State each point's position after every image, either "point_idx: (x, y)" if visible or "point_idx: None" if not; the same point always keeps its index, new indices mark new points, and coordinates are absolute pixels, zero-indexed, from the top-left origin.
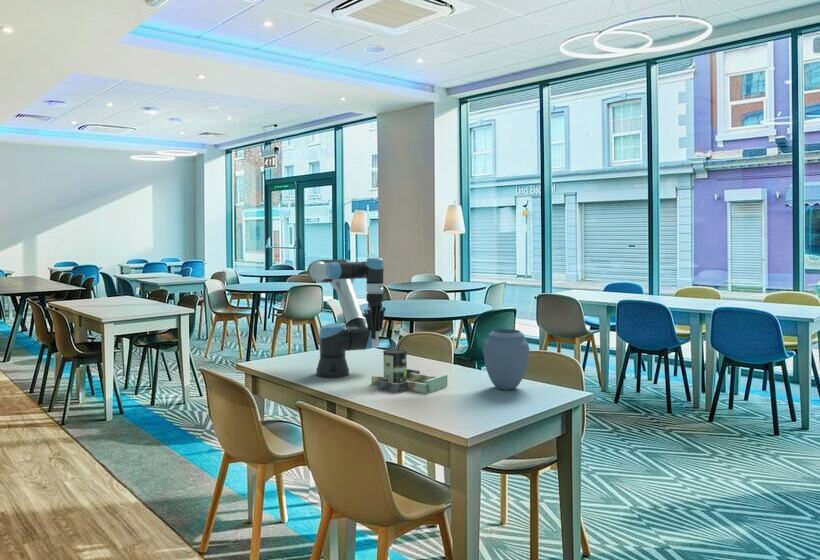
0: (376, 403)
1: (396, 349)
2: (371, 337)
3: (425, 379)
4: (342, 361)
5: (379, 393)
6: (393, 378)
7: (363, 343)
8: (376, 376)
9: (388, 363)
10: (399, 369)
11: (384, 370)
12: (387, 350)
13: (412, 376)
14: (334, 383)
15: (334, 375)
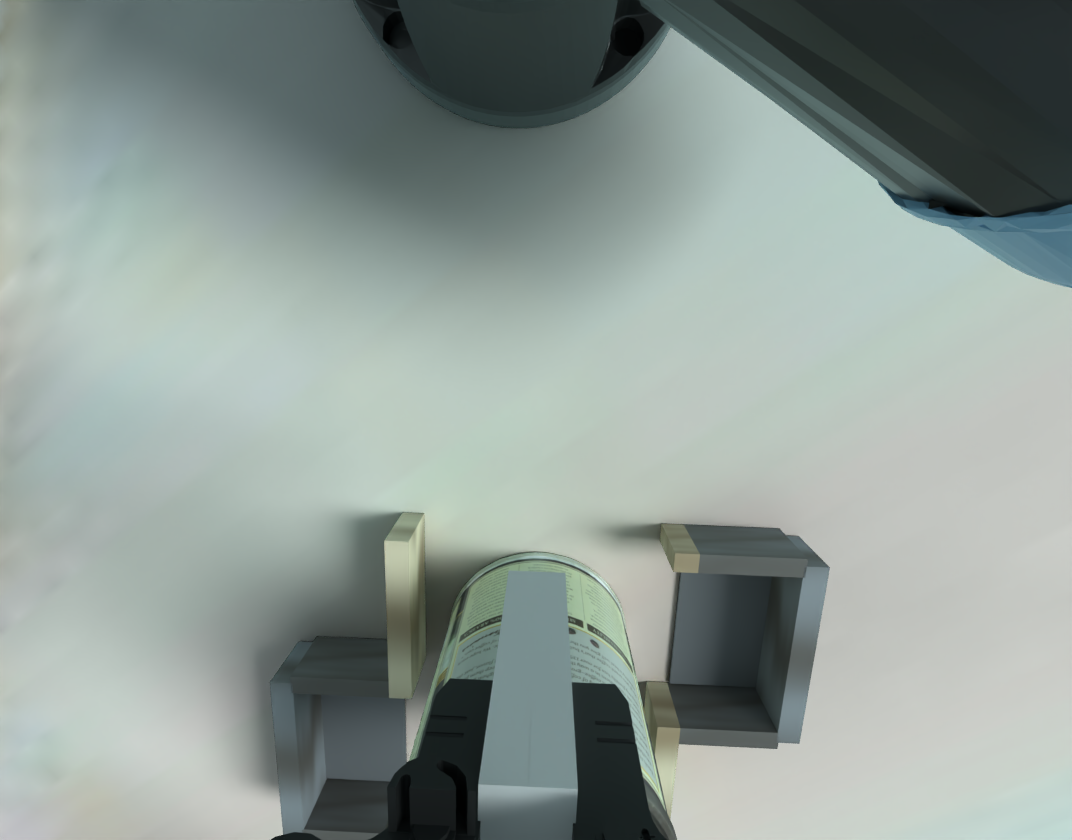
0: (25, 806)
1: (661, 832)
2: (434, 701)
3: None
4: (497, 29)
5: (218, 702)
6: None
7: (845, 150)
8: (398, 581)
9: None
10: None
11: (444, 655)
12: None
13: (651, 737)
14: (234, 239)
15: (397, 68)
